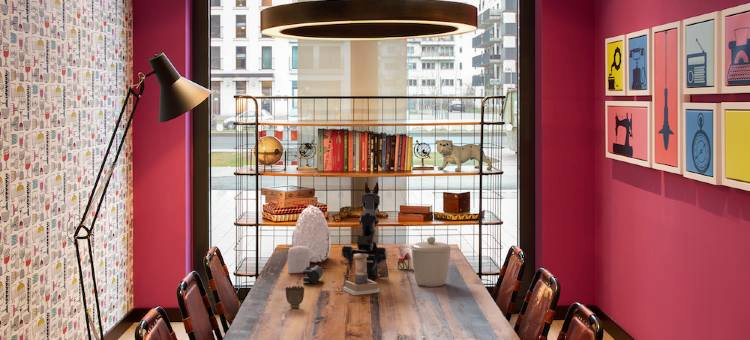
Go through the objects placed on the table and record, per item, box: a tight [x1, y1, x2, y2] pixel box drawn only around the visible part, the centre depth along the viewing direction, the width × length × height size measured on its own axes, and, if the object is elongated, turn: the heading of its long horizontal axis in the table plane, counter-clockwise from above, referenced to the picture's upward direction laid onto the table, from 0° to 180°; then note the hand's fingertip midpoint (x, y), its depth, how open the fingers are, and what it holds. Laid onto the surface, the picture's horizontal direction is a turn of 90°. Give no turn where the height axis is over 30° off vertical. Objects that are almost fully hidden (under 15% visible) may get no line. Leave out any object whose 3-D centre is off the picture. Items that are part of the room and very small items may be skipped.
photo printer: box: [287, 246, 310, 274], centre depth 403 cm, size 10×4×12 cm, turn 116°
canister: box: [410, 236, 453, 288], centre depth 378 cm, size 18×18×21 cm
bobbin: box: [353, 253, 369, 285], centre depth 365 cm, size 6×6×14 cm
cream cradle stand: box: [343, 278, 381, 296], centre depth 365 cm, size 12×10×4 cm
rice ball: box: [291, 204, 332, 263], centre depth 432 cm, size 28×19×28 cm
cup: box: [285, 285, 305, 310], centre depth 336 cm, size 8×7×8 cm
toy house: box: [397, 252, 412, 271], centre depth 413 cm, size 6×7×8 cm
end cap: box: [302, 265, 324, 286], centre depth 382 cm, size 10×7×7 cm
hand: (361, 269), depth 365 cm, fingers open, 9 cm apart
